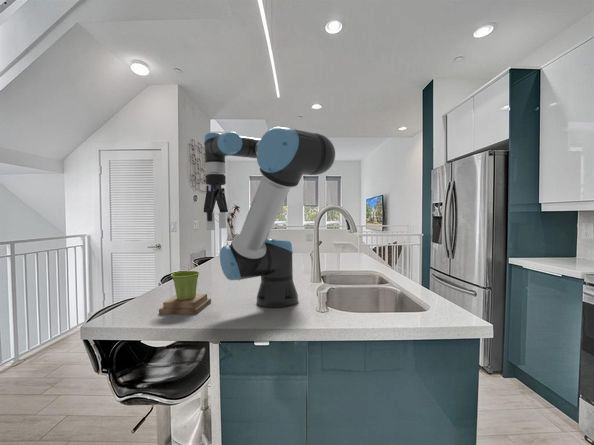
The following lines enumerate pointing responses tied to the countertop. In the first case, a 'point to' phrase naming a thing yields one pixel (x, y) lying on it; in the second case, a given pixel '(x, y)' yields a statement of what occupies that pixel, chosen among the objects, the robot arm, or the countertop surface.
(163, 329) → the countertop surface
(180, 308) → the walnut stand
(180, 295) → the plant pot
